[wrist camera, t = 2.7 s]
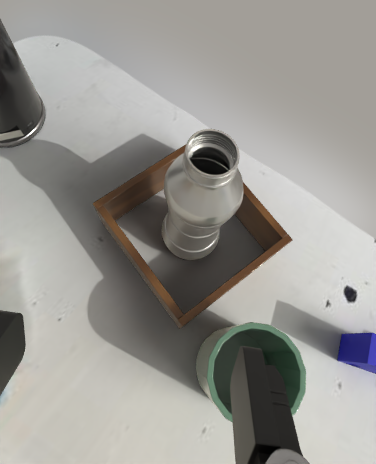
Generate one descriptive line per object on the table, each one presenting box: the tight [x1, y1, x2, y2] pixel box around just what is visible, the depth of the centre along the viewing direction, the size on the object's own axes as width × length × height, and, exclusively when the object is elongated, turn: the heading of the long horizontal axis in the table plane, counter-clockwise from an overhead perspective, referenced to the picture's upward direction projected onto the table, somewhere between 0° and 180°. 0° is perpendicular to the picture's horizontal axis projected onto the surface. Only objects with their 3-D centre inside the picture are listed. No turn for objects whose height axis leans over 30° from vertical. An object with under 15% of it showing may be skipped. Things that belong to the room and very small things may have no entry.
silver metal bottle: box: [162, 129, 244, 260], centre depth 32 cm, size 6×7×20 cm
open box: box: [93, 145, 292, 329], centre depth 39 cm, size 16×15×6 cm
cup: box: [196, 322, 306, 422], centre depth 33 cm, size 8×8×10 cm
